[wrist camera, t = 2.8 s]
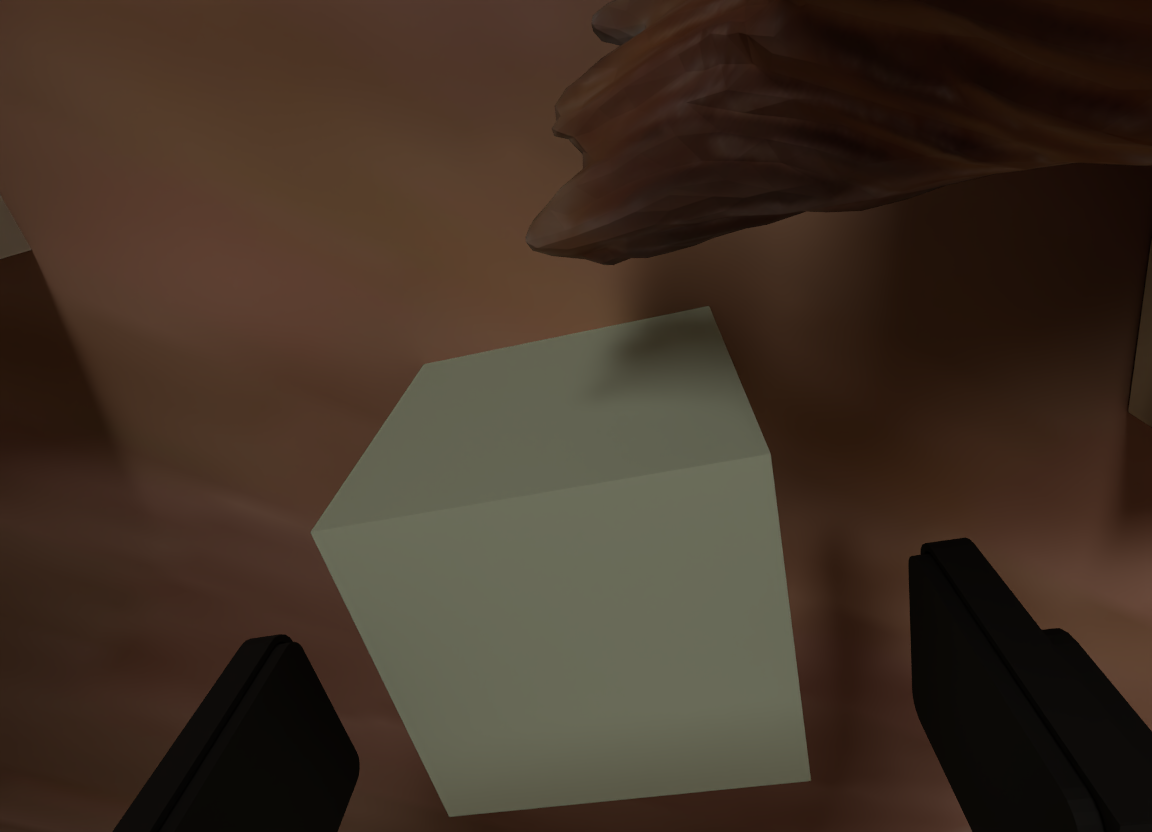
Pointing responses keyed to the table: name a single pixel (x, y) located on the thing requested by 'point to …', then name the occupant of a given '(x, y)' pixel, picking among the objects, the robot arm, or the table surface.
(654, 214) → the horse figurine
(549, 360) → the green block
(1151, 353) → the base brick
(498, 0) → the table surface
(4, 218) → the cream block
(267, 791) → the robot arm
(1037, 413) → the table surface
